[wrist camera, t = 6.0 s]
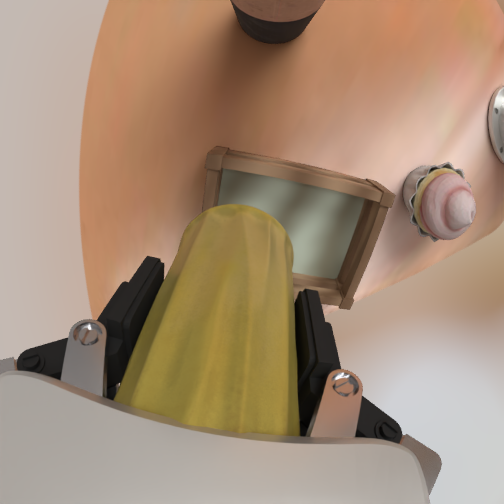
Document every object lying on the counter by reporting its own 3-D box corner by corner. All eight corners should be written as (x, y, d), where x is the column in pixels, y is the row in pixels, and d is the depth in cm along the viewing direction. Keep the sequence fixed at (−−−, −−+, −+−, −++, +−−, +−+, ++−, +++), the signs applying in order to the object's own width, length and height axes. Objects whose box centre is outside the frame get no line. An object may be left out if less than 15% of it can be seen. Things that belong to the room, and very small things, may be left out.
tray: (376, 181, 29) (395, 195, 25) (340, 284, 36) (349, 309, 32) (216, 146, 28) (207, 153, 24) (201, 261, 35) (192, 285, 30)
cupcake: (425, 236, 32) (464, 277, 23) (377, 201, 30) (416, 238, 22) (460, 181, 28) (509, 209, 19) (417, 138, 26) (468, 155, 18)
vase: (162, 264, 16) (49, 515, 3) (220, 178, 13) (47, 559, 1) (248, 316, 17) (225, 562, 5) (316, 247, 15) (380, 565, 2)
